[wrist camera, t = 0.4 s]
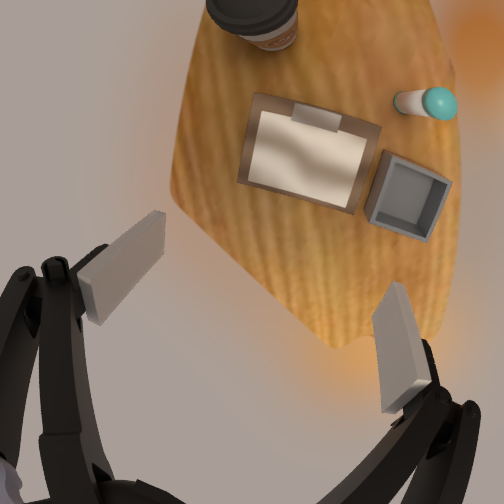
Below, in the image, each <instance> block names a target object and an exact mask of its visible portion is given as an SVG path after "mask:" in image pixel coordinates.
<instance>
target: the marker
mask: <svg viewBox="0 0 504 504" xmlns="http://www.w3.org/2000/svg"><path fill="white" fill-rule="evenodd" d="M394 106H395V108H396V109H397V110H398V111H399V112H400V113H402V114H412V115H420V116H427V117H432V118H435V119H440V120H450V119H452V118H453V117H454V116H455V115H456V113H457V101H456V99H455V97H454V95H453V94H452V93H451V92H450V91H449V90H448V89H446V88H443V87H436V88H429V89H426V90H417V91H410V92H400V93H398V94H397V95H396V96H395V97H394Z"/></svg>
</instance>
